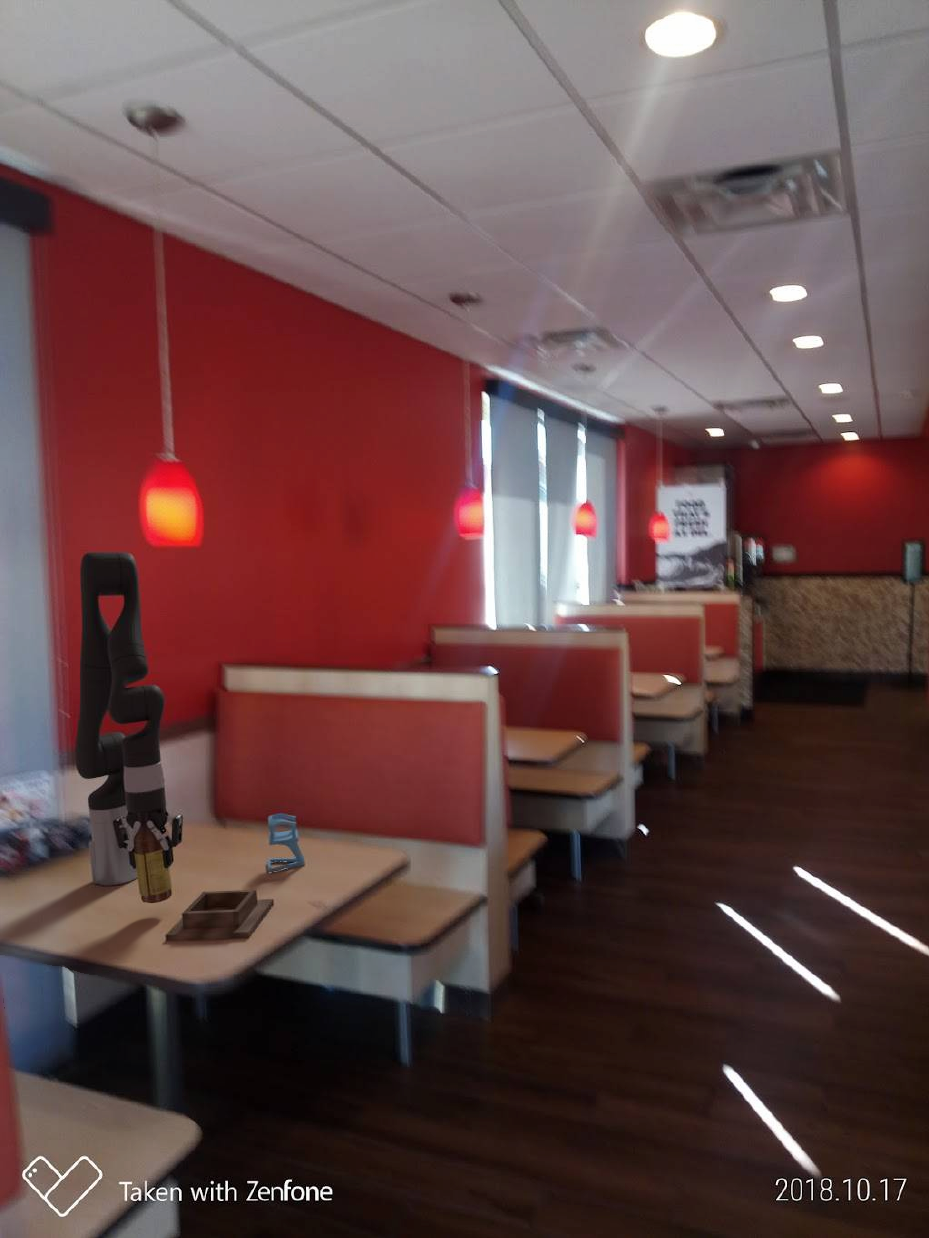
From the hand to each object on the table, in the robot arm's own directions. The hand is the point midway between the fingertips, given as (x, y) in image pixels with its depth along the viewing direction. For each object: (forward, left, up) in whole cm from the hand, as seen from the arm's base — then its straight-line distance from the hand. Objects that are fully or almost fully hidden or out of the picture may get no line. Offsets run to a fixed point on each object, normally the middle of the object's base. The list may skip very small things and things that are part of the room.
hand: (152, 866), depth 188 cm
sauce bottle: (0, 0, -7) cm, 7 cm away
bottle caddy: (+15, -5, -10) cm, 19 cm away
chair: (+19, +26, -10) cm, 34 cm away
